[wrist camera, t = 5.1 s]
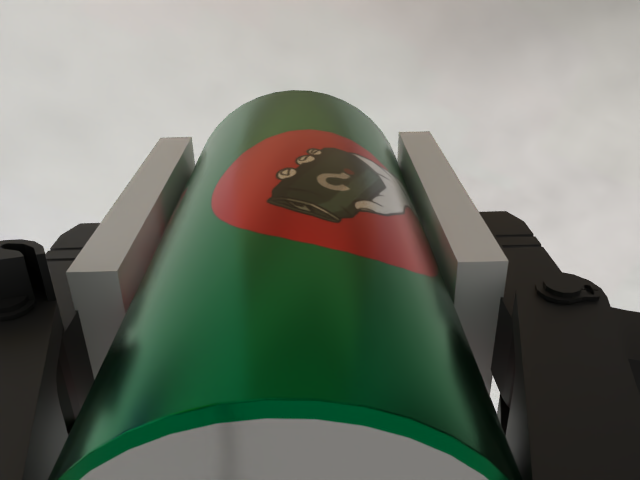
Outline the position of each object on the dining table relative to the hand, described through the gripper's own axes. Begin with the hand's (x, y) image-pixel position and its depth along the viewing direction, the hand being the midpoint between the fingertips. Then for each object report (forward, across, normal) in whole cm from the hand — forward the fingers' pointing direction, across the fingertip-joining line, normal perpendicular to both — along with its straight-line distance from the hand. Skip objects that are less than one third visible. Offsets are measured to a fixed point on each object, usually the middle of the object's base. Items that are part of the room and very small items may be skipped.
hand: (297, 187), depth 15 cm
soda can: (0, 0, 0) cm, 0 cm away
